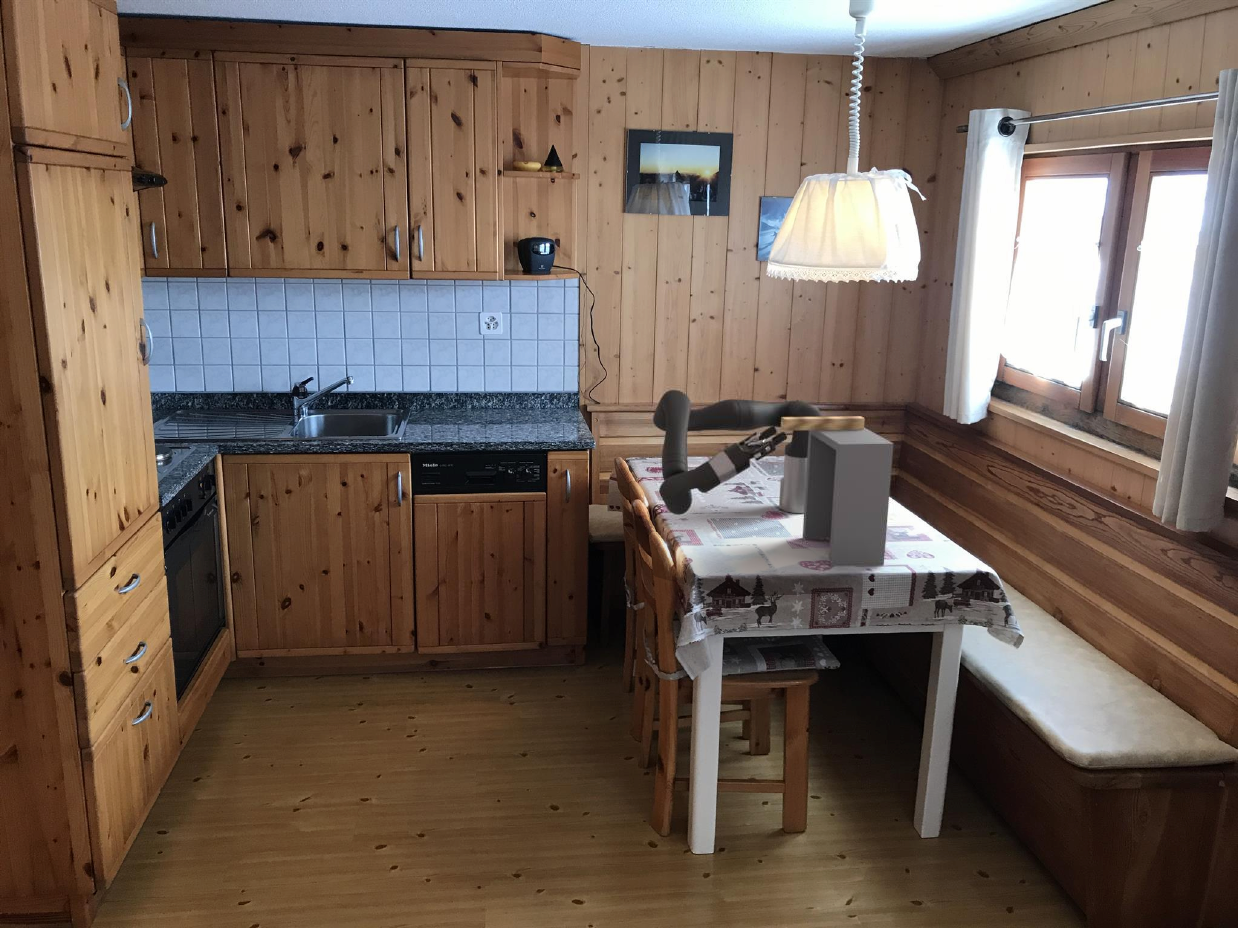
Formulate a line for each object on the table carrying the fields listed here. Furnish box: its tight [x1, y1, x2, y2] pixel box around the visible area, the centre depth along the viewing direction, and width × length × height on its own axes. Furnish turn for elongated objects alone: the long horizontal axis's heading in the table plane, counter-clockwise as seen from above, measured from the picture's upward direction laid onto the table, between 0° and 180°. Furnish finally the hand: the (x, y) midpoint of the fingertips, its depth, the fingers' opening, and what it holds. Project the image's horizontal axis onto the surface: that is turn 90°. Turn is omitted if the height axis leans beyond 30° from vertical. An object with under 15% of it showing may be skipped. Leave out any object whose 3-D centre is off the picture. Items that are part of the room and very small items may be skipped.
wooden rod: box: [780, 415, 865, 432], centre depth 269 cm, size 22×3×3 cm, turn 98°
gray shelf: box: [802, 427, 894, 567], centre depth 267 cm, size 14×24×32 cm, turn 8°
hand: (780, 431), depth 267 cm, fingers open, 8 cm apart
